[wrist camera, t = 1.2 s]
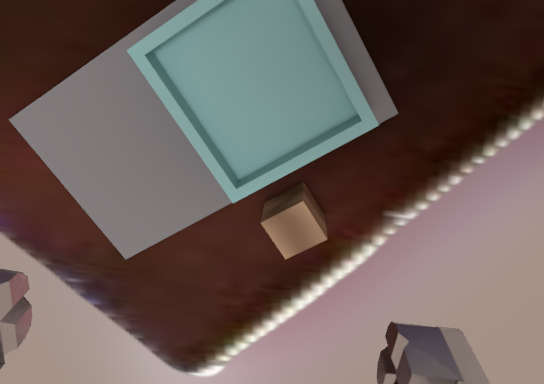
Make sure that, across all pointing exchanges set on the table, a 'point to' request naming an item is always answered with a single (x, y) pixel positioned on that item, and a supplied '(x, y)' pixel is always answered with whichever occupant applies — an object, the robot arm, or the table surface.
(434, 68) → the table surface
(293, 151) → the cyan square tray
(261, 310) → the table surface
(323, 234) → the walnut block
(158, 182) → the grey rectangular mat
